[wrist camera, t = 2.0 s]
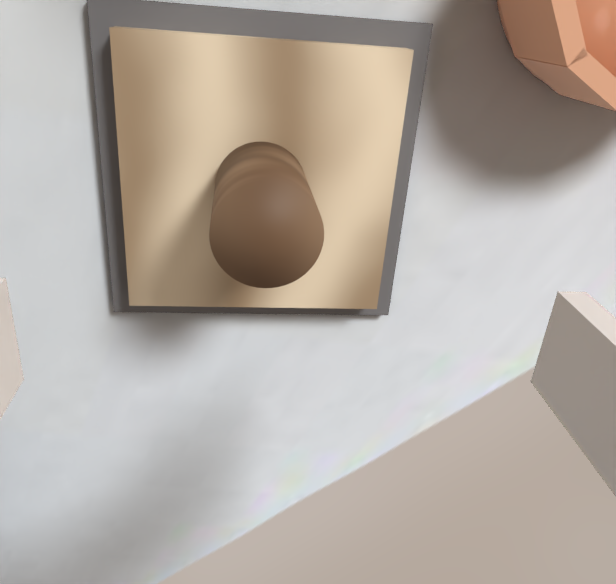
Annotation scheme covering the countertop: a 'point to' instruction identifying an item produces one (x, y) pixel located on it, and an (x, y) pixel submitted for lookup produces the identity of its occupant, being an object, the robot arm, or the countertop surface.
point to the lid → (256, 167)
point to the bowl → (566, 45)
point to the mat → (257, 23)
